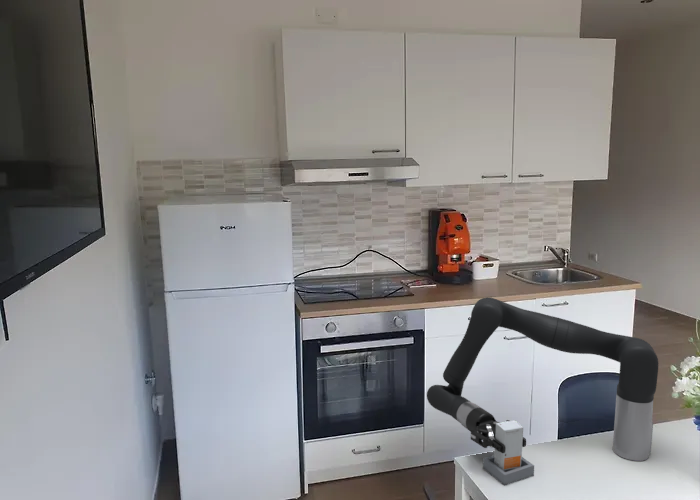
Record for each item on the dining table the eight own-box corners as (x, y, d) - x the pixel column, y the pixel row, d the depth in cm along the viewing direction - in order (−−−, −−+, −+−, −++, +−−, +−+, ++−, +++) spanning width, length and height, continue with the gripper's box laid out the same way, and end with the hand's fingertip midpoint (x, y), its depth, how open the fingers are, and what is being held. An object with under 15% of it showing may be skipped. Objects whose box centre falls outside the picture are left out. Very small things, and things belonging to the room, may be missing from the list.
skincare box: (502, 472, 140) (503, 430, 138) (493, 463, 144) (495, 422, 142) (522, 468, 141) (524, 427, 139) (513, 459, 146) (514, 419, 143)
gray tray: (511, 459, 149) (511, 449, 148) (533, 475, 141) (534, 465, 140) (482, 468, 145) (483, 458, 144) (504, 485, 137) (504, 475, 136)
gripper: (455, 412, 151) (493, 440, 136) (495, 402, 157) (536, 427, 142) (454, 436, 152) (493, 466, 137) (494, 425, 158) (535, 453, 143)
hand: (514, 446), depth 139 cm, fingers closed on skincare box, 6 cm apart
